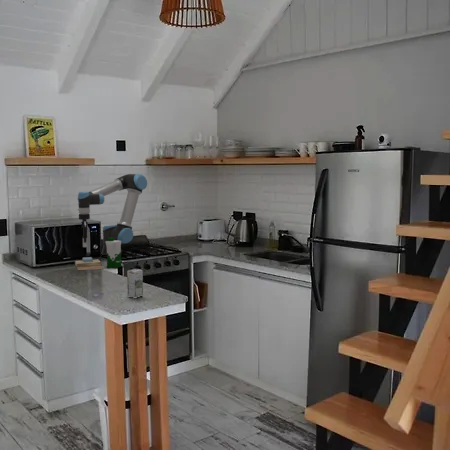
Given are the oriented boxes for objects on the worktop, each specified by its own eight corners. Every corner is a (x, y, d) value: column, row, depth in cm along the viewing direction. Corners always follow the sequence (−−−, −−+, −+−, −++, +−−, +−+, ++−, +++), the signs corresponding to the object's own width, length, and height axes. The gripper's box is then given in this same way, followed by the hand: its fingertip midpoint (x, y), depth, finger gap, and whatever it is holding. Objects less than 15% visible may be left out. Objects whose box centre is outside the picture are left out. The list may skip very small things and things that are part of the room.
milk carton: (112, 265, 374) (112, 236, 372) (123, 266, 370) (122, 237, 368) (104, 267, 366) (103, 238, 364) (115, 268, 362) (114, 239, 360)
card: (82, 260, 378) (82, 257, 378) (91, 259, 380) (91, 257, 380) (83, 262, 370) (83, 259, 370) (92, 261, 372) (92, 259, 372)
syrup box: (135, 295, 288) (135, 268, 286) (143, 297, 284) (142, 269, 283) (127, 297, 284) (126, 270, 282) (135, 299, 280) (134, 271, 278)
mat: (76, 268, 366) (76, 267, 366) (100, 266, 372) (100, 265, 372) (78, 270, 357) (78, 270, 357) (102, 268, 362) (102, 268, 362)
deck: (75, 265, 377) (75, 260, 377) (98, 263, 383) (98, 259, 383) (76, 268, 366) (76, 263, 366) (100, 266, 372) (100, 262, 371)
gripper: (77, 213, 387) (78, 246, 389) (79, 214, 374) (80, 248, 377) (88, 212, 389) (89, 245, 392) (90, 214, 377) (91, 247, 379)
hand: (85, 246), depth 384 cm, fingers closed
